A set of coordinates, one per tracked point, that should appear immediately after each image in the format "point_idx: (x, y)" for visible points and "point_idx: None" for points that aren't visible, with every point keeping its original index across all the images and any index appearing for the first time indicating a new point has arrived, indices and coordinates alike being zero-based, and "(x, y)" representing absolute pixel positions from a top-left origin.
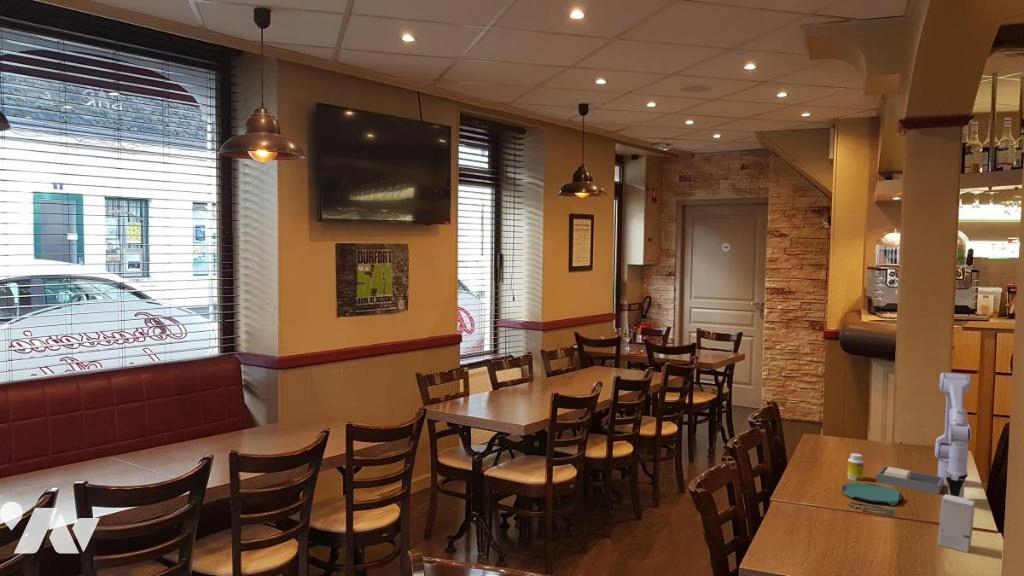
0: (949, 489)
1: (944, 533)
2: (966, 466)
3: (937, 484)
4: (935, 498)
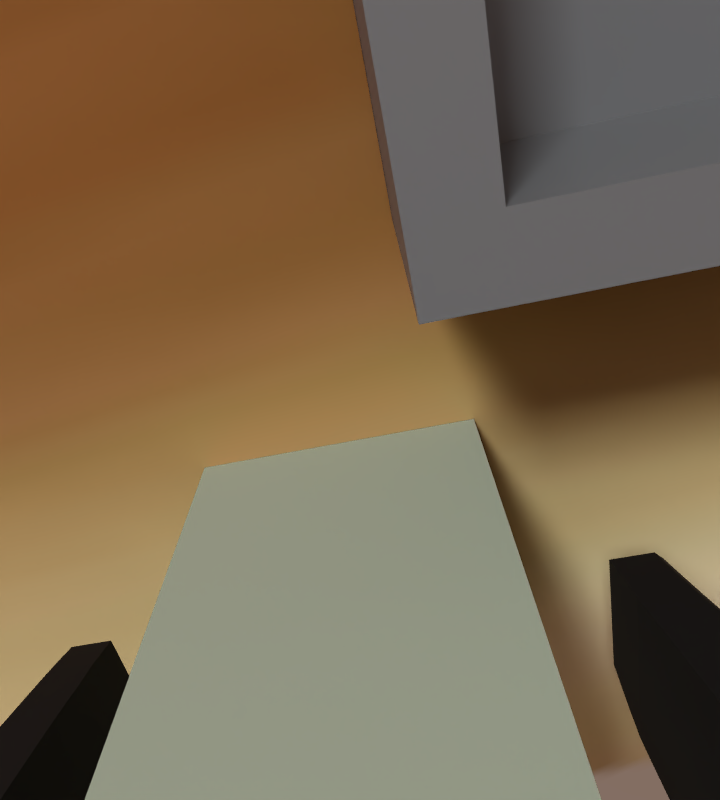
0: (133, 723)
1: None
2: None
3: (585, 196)
4: (156, 220)
